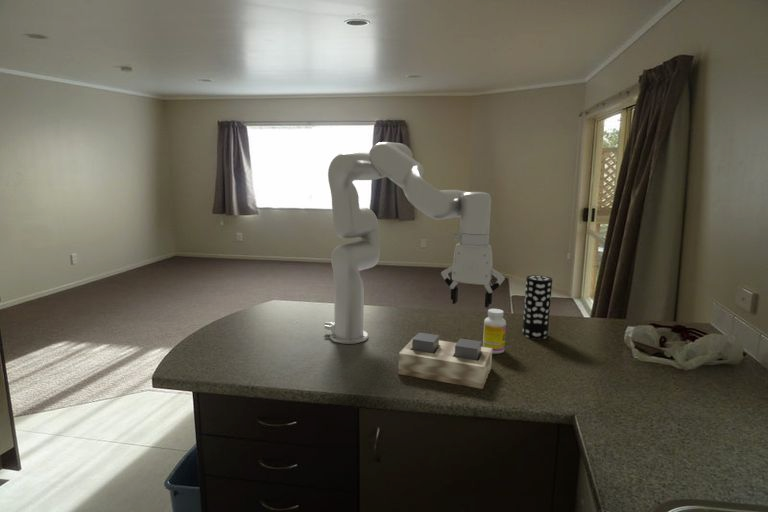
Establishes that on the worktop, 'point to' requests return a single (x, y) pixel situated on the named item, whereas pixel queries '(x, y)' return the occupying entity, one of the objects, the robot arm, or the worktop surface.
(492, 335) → the supplement bottle
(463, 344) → the cap
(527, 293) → the white-spotted black cylinder
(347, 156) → the robot arm
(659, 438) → the worktop surface
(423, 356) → the switch box
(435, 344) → the cap
